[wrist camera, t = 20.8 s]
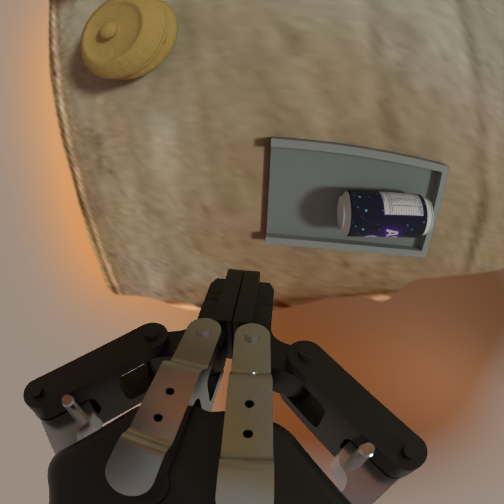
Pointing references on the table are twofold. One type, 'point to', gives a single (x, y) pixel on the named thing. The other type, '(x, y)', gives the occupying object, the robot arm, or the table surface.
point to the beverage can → (384, 214)
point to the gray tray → (334, 185)
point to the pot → (128, 38)
